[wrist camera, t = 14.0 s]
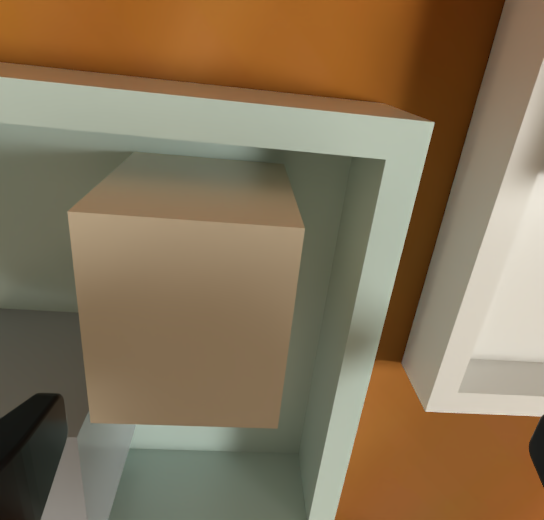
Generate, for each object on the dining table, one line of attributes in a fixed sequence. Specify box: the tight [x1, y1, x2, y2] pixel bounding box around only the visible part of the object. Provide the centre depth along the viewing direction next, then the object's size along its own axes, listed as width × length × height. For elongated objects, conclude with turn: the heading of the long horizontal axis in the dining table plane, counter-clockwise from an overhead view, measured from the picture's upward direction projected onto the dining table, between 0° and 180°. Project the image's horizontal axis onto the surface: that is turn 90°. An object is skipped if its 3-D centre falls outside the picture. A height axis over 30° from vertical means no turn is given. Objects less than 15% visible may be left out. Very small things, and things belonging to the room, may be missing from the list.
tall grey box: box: [0, 308, 136, 520], centre depth 12 cm, size 4×4×5 cm
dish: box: [0, 62, 435, 520], centre depth 12 cm, size 13×13×4 cm
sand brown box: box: [67, 152, 305, 429], centre depth 10 cm, size 4×4×5 cm
